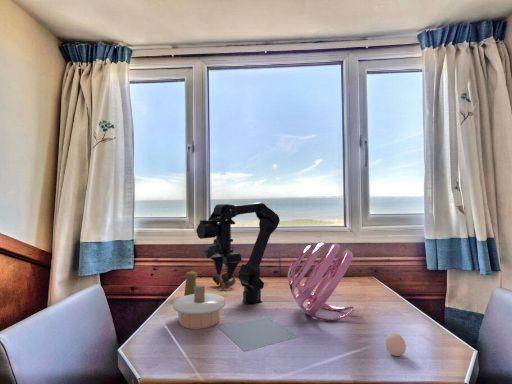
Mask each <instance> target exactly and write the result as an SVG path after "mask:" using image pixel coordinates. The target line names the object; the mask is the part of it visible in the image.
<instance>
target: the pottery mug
mask: <svg viewBox="0 0 512 384" xmlns="http://www.w3.org/2000/svg"><path fill="white" fill-rule="evenodd" d="M231 278H232V279H230V280H228V278H227V271H225V272H221V273H220V275H218V274H217V273H216V274H214V275H213V276H212V281H213V282H214V283H215V284H216V285H217V286H220V290H222V291H224V290H225V289H227V288H230V287H232V286H233V285H235V283H237V280H236V278H235V275H234V274H233V275H232V277H231Z"/></svg>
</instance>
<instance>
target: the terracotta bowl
mask: <svg viewBox="0 0 512 384" xmlns="http://www.w3.org/2000/svg"><path fill="white" fill-rule="evenodd" d="M177 312H178V311H177ZM177 315H178V316H177V317H178V318H177V320H178V323H179V325H180V326H181V327H183V328H187V329H191V330H192V329H193V330H197V329H199V330H200V329H206V328H207V329H208V328H210V327H213V326H215V325H217V324H218V323H219V322H220V319H221V309H219V310H217V311H214V312H209V313H203V314H186V313H181V312H178V314H177Z"/></svg>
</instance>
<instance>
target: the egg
mask: <svg viewBox="0 0 512 384" xmlns="http://www.w3.org/2000/svg"><path fill="white" fill-rule="evenodd" d="M385 348H386V350H387V351H388V353H390V355H391V356H394V357H400V356H403V355H404V353H406V350H407V345H406V341H405V340H404V338H403V337H402V335H400V334H399V333H397V332H392V333H390V334H388V335H387V337H386V339H385Z"/></svg>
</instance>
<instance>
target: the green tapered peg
mask: <svg viewBox="0 0 512 384" xmlns="http://www.w3.org/2000/svg"><path fill="white" fill-rule="evenodd" d="M197 277H198V273H197V272H196V271H187V272H186V273H185V274H184V278H185V287H184V293H183V294H184V295H183V296H186V295H191V294H194V287H195V286H197V280H196V279H197Z"/></svg>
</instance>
